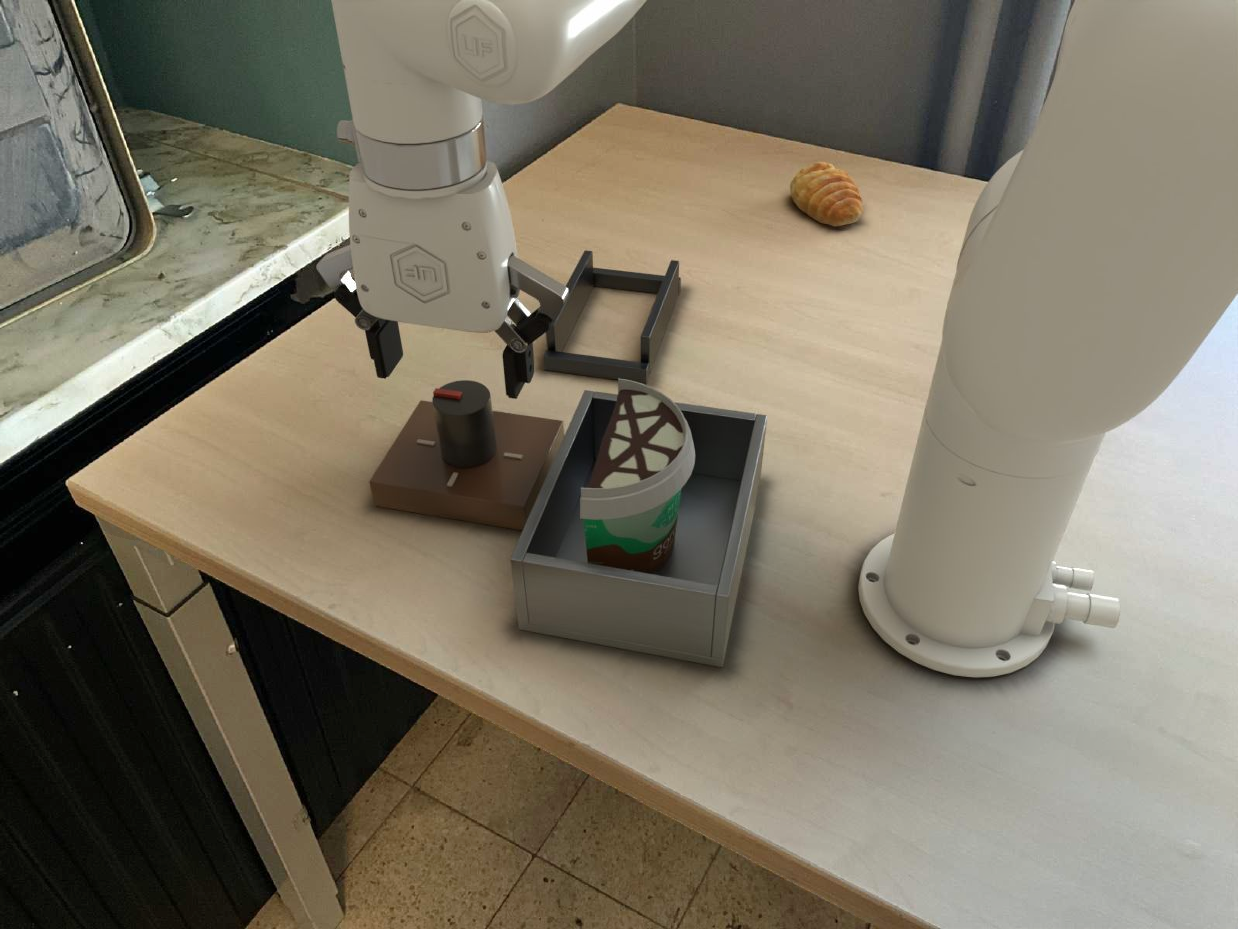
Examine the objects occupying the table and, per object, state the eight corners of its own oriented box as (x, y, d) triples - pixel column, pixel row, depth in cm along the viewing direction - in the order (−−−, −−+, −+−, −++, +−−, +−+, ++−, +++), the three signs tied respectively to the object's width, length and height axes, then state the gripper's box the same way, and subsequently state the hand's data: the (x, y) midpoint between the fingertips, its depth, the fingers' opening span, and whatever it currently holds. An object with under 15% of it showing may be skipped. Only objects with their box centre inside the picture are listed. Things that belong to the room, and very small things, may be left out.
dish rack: (680, 290, 97) (681, 254, 94) (646, 383, 86) (646, 345, 83) (589, 279, 99) (587, 243, 96) (543, 370, 87) (540, 331, 85)
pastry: (877, 224, 106) (883, 191, 104) (820, 235, 105) (824, 202, 102) (836, 186, 113) (840, 154, 110) (781, 196, 111) (784, 164, 109)
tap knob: (504, 436, 77) (497, 380, 73) (486, 471, 74) (478, 415, 70) (453, 428, 78) (444, 373, 74) (433, 463, 74) (422, 407, 71)
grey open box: (759, 484, 76) (767, 414, 72) (722, 668, 63) (729, 597, 59) (587, 458, 79) (584, 389, 74) (518, 629, 66) (509, 559, 61)
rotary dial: (565, 444, 80) (563, 418, 78) (527, 531, 73) (524, 505, 71) (424, 423, 82) (420, 398, 80) (374, 506, 75) (368, 479, 73)
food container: (676, 617, 65) (680, 507, 59) (584, 603, 66) (578, 494, 60) (702, 490, 74) (708, 383, 68) (621, 480, 75) (619, 373, 69)
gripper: (260, 159, 59) (318, 390, 70) (542, 192, 56) (555, 428, 67) (318, 109, 64) (363, 331, 76) (578, 137, 61) (584, 364, 72)
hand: (453, 376), depth 71 cm, fingers open, 9 cm apart
